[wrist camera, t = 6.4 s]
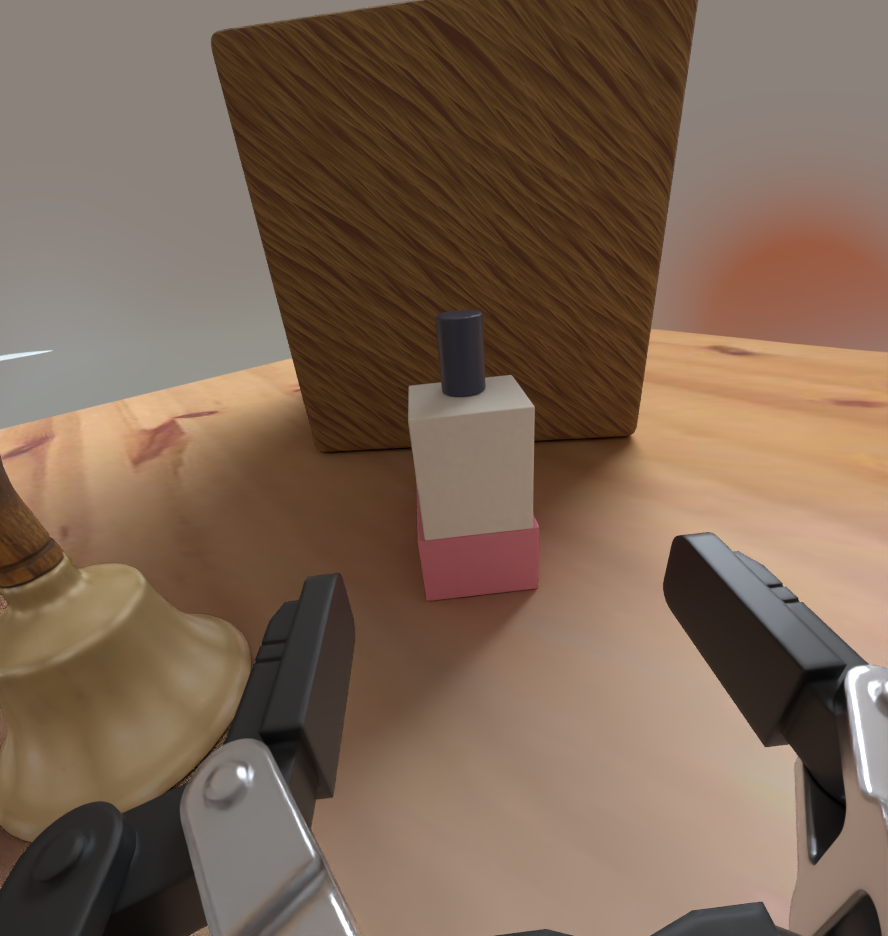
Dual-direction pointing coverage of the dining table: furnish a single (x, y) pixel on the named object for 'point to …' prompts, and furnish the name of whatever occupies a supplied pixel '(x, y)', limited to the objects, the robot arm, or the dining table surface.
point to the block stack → (473, 471)
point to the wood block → (463, 197)
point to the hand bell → (100, 680)
